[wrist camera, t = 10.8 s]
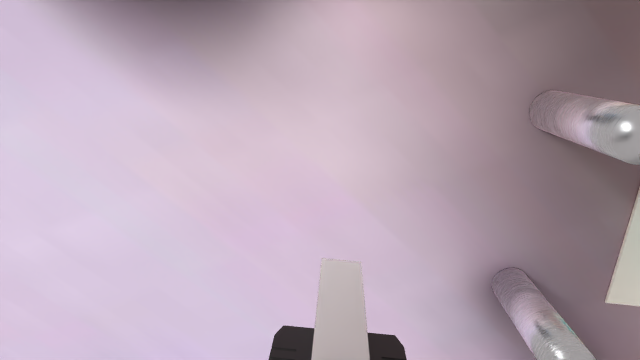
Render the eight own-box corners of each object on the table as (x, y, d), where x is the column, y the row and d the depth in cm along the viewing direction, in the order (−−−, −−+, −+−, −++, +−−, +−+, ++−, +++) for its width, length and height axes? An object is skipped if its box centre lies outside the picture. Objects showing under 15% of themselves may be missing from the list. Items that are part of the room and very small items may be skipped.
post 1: (525, 128, 28) (606, 162, 19) (534, 88, 27) (622, 104, 19) (565, 132, 28) (665, 167, 19) (575, 92, 27) (683, 109, 19)
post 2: (488, 297, 32) (543, 389, 23) (495, 266, 31) (554, 348, 22) (524, 301, 32) (592, 394, 23) (531, 269, 31) (605, 353, 22)
